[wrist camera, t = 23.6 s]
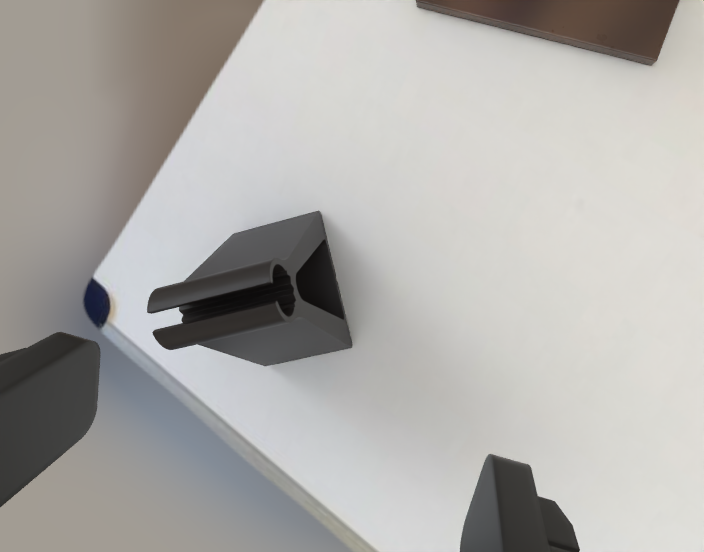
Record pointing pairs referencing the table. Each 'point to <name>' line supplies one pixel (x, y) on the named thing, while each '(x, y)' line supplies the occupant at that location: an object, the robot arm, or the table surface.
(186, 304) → the phone stand
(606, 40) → the brown board
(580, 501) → the table surface
